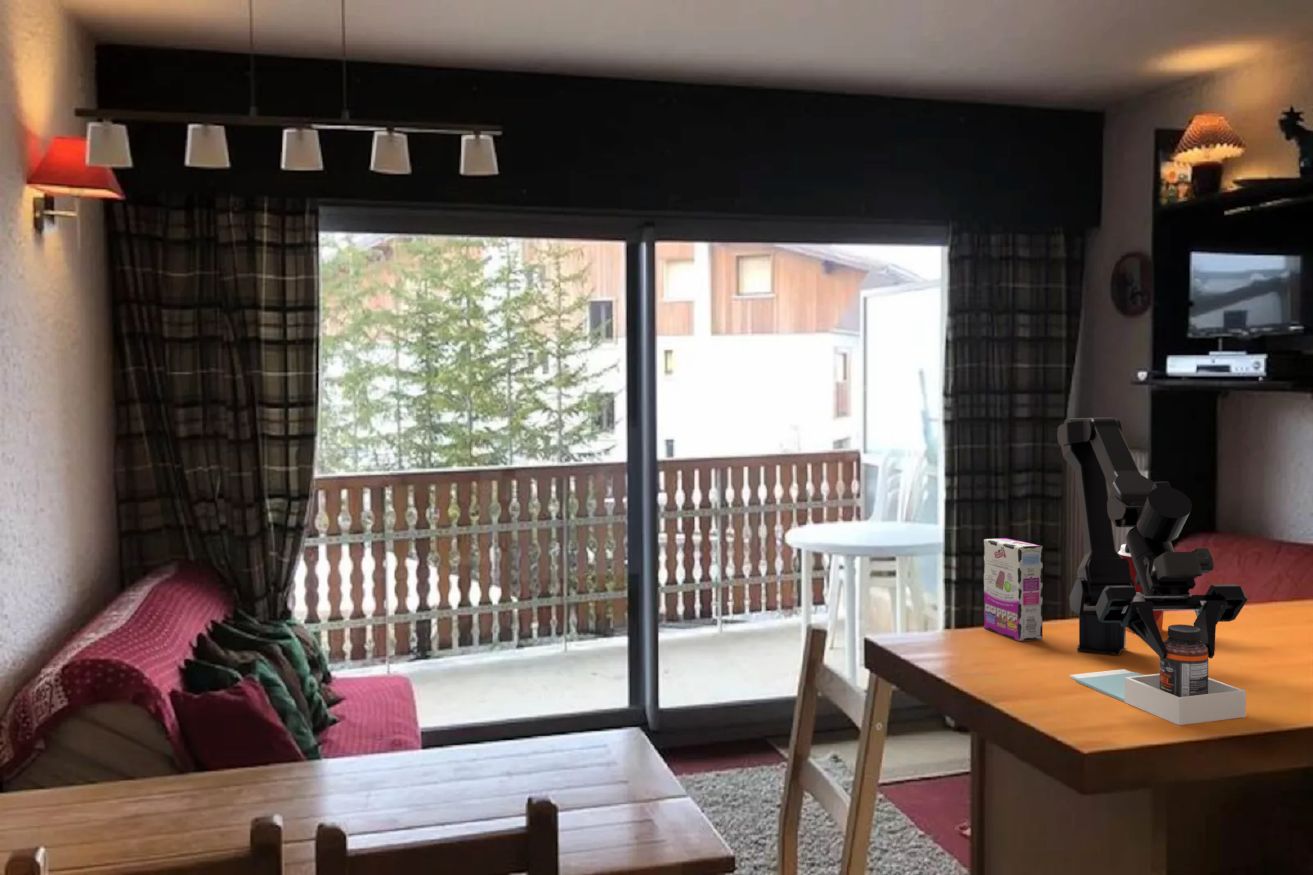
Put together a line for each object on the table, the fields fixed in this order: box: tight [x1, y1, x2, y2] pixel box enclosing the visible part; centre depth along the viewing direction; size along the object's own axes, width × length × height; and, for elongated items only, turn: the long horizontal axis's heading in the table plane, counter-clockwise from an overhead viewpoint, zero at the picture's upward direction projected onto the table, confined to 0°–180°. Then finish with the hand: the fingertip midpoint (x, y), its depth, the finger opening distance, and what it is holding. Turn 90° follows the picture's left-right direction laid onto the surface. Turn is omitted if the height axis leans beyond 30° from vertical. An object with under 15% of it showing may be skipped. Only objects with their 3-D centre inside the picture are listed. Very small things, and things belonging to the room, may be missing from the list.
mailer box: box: [1069, 668, 1247, 726], centre depth 153 cm, size 10×23×4 cm, turn 15°
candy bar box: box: [983, 537, 1044, 642], centre depth 190 cm, size 11×5×16 cm, turn 16°
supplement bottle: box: [1159, 624, 1209, 697], centre depth 146 cm, size 6×6×11 cm
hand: (1188, 657), depth 145 cm, fingers closed on supplement bottle, 6 cm apart
